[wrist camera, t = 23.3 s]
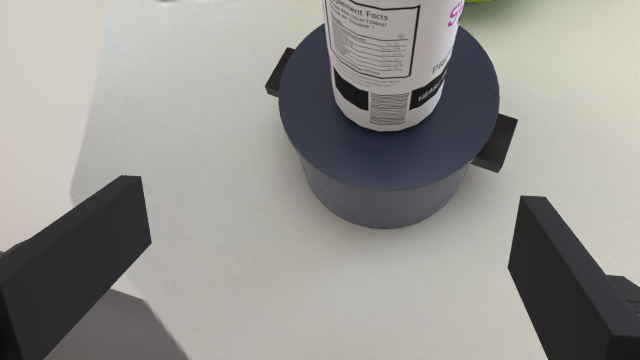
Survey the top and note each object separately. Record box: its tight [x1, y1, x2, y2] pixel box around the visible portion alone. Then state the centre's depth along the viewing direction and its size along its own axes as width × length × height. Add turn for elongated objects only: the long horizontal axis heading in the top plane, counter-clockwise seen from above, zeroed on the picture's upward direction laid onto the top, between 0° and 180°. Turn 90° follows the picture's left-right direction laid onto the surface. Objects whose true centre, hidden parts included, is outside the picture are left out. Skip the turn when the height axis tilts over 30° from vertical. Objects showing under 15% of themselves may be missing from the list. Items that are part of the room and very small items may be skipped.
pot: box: [265, 23, 518, 229], centre depth 41 cm, size 20×17×11 cm
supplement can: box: [322, 0, 465, 131], centre depth 29 cm, size 8×8×15 cm
